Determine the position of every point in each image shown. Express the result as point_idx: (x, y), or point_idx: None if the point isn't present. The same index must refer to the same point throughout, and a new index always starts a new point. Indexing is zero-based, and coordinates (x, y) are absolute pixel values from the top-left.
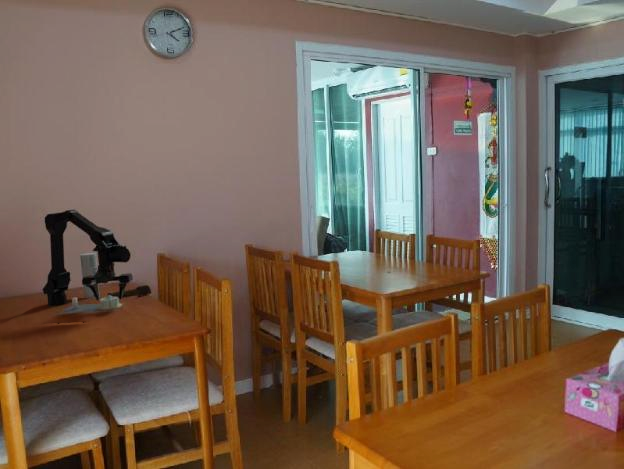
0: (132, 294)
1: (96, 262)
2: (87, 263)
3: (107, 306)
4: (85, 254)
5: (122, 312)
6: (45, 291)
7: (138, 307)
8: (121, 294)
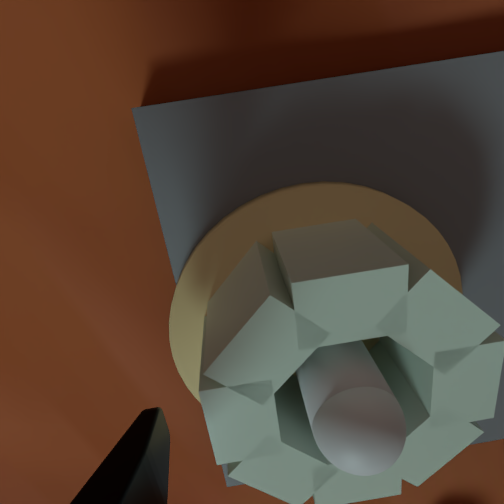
0: None
1: None
2: None
3: (307, 233)
4: None
5: (58, 168)
6: None
7: (6, 386)
8: (82, 489)
